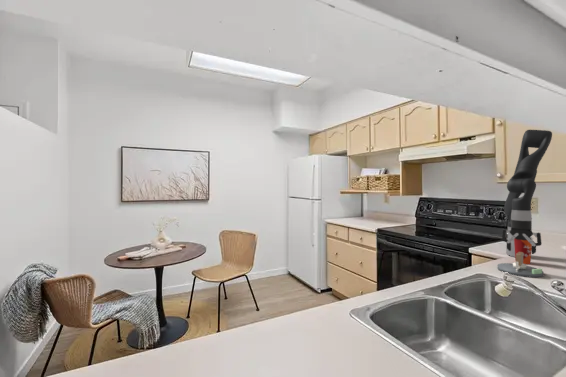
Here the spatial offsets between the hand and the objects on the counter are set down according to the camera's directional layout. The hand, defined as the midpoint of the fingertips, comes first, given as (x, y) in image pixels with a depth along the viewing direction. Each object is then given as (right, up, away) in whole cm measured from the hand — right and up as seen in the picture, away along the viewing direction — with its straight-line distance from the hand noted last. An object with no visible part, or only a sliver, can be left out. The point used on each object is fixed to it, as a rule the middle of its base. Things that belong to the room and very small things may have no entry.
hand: (521, 252), depth 131 cm
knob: (-1, -8, 0) cm, 8 cm away
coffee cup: (+14, -10, +15) cm, 23 cm away
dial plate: (0, -10, +1) cm, 10 cm away
